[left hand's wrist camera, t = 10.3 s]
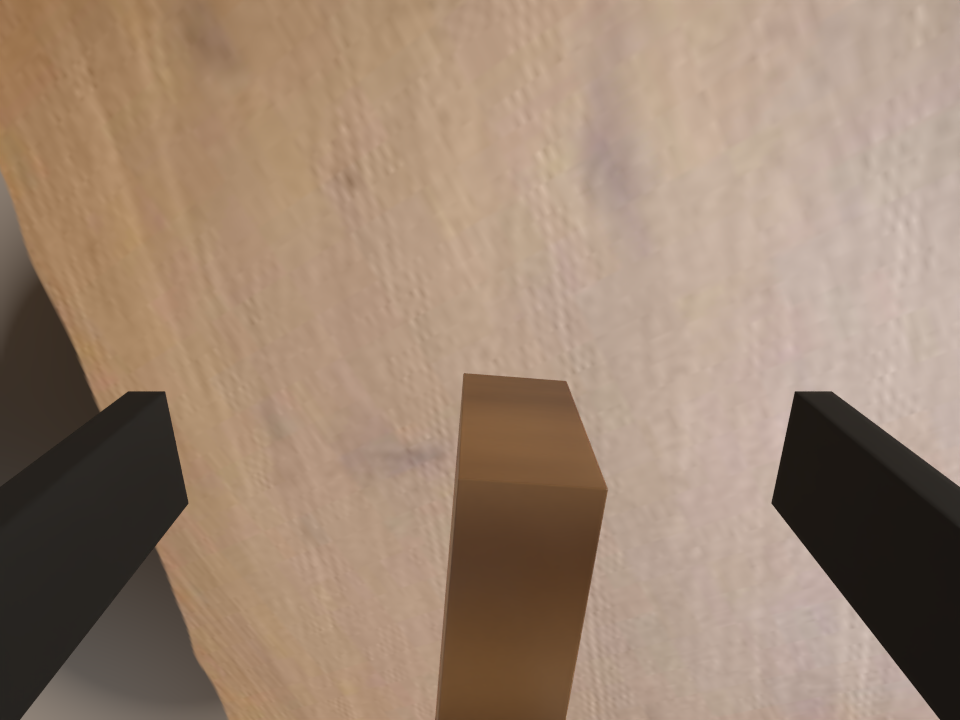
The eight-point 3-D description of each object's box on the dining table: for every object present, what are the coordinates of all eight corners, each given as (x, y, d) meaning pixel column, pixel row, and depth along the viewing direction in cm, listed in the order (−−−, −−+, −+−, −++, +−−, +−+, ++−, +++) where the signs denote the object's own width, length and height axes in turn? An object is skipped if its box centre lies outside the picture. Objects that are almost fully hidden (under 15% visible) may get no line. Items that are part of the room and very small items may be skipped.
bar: (463, 372, 26) (458, 478, 18) (566, 380, 26) (608, 488, 18) (430, 773, 35) (416, 970, 26) (508, 777, 35) (519, 974, 27)
